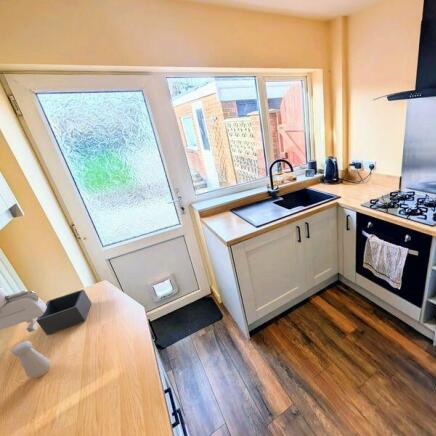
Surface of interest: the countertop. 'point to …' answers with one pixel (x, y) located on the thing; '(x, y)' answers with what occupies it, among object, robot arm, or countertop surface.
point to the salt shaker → (31, 360)
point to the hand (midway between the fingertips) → (13, 336)
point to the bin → (65, 312)
